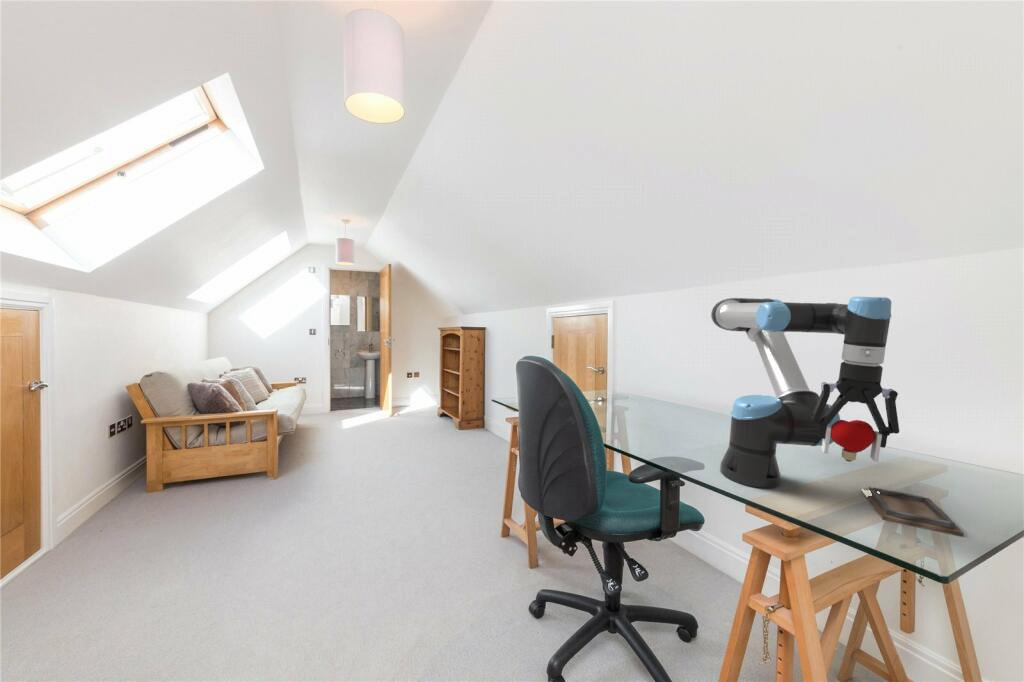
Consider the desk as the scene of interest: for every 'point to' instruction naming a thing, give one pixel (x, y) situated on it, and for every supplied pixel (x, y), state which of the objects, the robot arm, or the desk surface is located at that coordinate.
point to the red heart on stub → (852, 437)
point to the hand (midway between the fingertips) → (848, 455)
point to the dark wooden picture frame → (911, 511)
